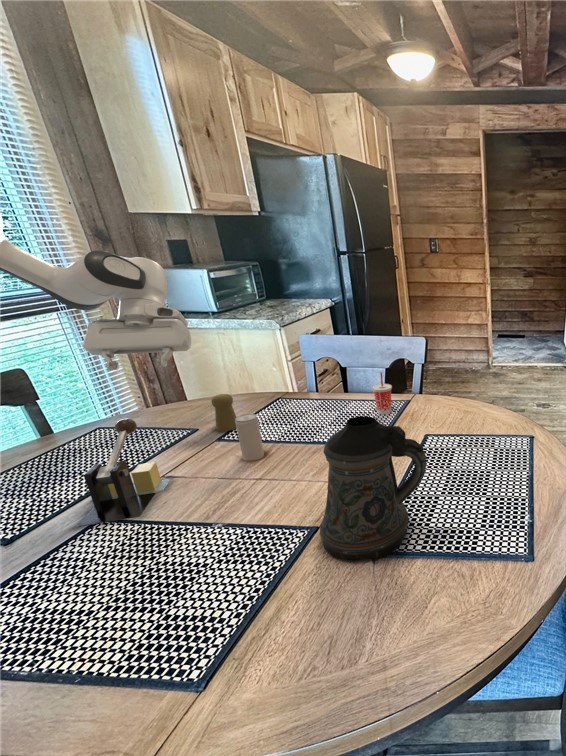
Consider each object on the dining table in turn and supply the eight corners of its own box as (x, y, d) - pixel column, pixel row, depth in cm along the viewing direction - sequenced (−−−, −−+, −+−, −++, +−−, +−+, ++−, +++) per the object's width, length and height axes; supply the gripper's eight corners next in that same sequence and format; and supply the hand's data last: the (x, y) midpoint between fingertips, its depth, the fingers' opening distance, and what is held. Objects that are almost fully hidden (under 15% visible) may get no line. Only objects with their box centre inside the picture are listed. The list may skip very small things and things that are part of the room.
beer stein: (313, 527, 84) (295, 414, 76) (403, 496, 95) (397, 395, 87) (334, 579, 72) (317, 451, 64) (436, 537, 83) (432, 423, 75)
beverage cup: (396, 408, 143) (393, 370, 139) (389, 415, 137) (386, 375, 133) (379, 407, 144) (375, 369, 139) (371, 414, 138) (368, 374, 133)
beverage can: (261, 452, 112) (254, 412, 108) (267, 459, 109) (259, 417, 105) (241, 458, 109) (232, 416, 105) (246, 465, 106) (237, 422, 102)
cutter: (100, 504, 89) (84, 460, 85) (157, 495, 93) (145, 453, 89) (77, 531, 81) (59, 483, 78) (141, 520, 85) (126, 474, 81)
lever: (121, 426, 94) (114, 416, 92) (141, 424, 95) (134, 414, 93) (98, 487, 84) (89, 477, 81) (120, 484, 85) (112, 474, 82)
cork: (244, 428, 125) (237, 394, 122) (222, 435, 120) (214, 400, 117) (234, 423, 128) (227, 390, 125) (212, 430, 123) (204, 396, 120)
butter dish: (95, 504, 89) (93, 500, 89) (106, 491, 93) (105, 487, 93) (164, 493, 93) (162, 490, 93) (171, 482, 98) (170, 478, 97)
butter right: (137, 492, 92) (130, 473, 90) (144, 483, 95) (138, 464, 94) (155, 490, 93) (149, 470, 91) (161, 480, 96) (156, 461, 95)
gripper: (80, 312, 98) (72, 365, 93) (185, 310, 105) (182, 359, 100) (96, 325, 103) (89, 376, 99) (194, 323, 111) (192, 370, 106)
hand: (137, 367), depth 100 cm, fingers open, 8 cm apart
